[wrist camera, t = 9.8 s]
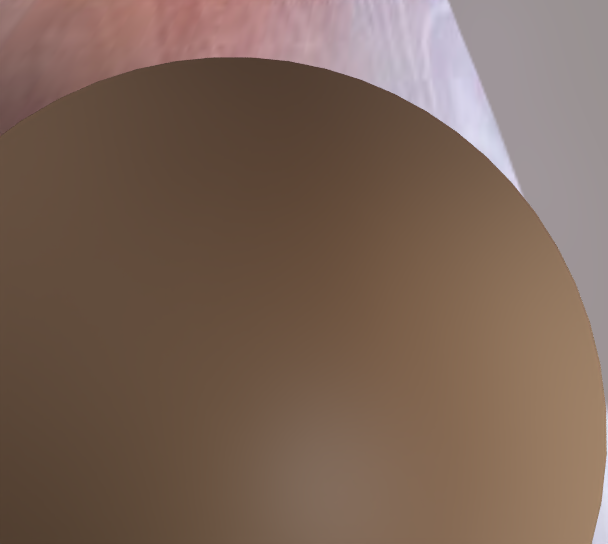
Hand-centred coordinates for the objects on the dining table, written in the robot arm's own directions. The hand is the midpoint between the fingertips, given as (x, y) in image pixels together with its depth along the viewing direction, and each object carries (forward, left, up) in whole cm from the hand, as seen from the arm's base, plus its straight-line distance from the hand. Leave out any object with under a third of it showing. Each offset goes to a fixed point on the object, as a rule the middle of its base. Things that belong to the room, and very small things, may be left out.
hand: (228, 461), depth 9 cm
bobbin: (+1, +1, -9) cm, 9 cm away
